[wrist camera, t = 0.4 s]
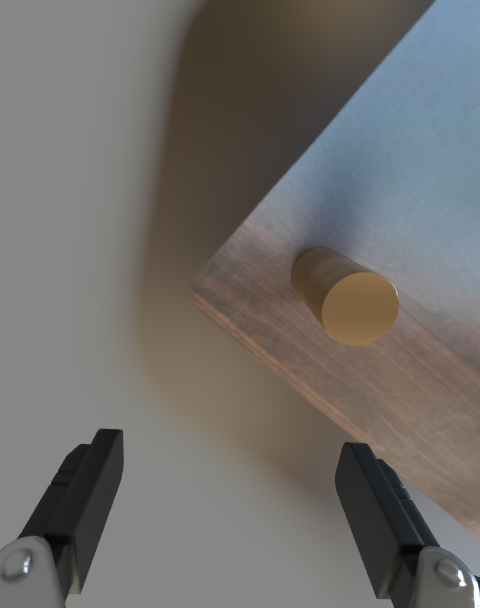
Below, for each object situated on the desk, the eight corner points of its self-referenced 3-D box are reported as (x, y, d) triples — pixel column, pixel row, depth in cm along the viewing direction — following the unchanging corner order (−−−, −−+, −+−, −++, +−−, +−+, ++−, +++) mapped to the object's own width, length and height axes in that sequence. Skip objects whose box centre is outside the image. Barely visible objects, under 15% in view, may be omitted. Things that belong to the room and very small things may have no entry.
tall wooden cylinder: (294, 245, 29) (327, 269, 20) (349, 248, 30) (407, 273, 20) (288, 299, 31) (316, 344, 22) (340, 301, 31) (390, 347, 22)
